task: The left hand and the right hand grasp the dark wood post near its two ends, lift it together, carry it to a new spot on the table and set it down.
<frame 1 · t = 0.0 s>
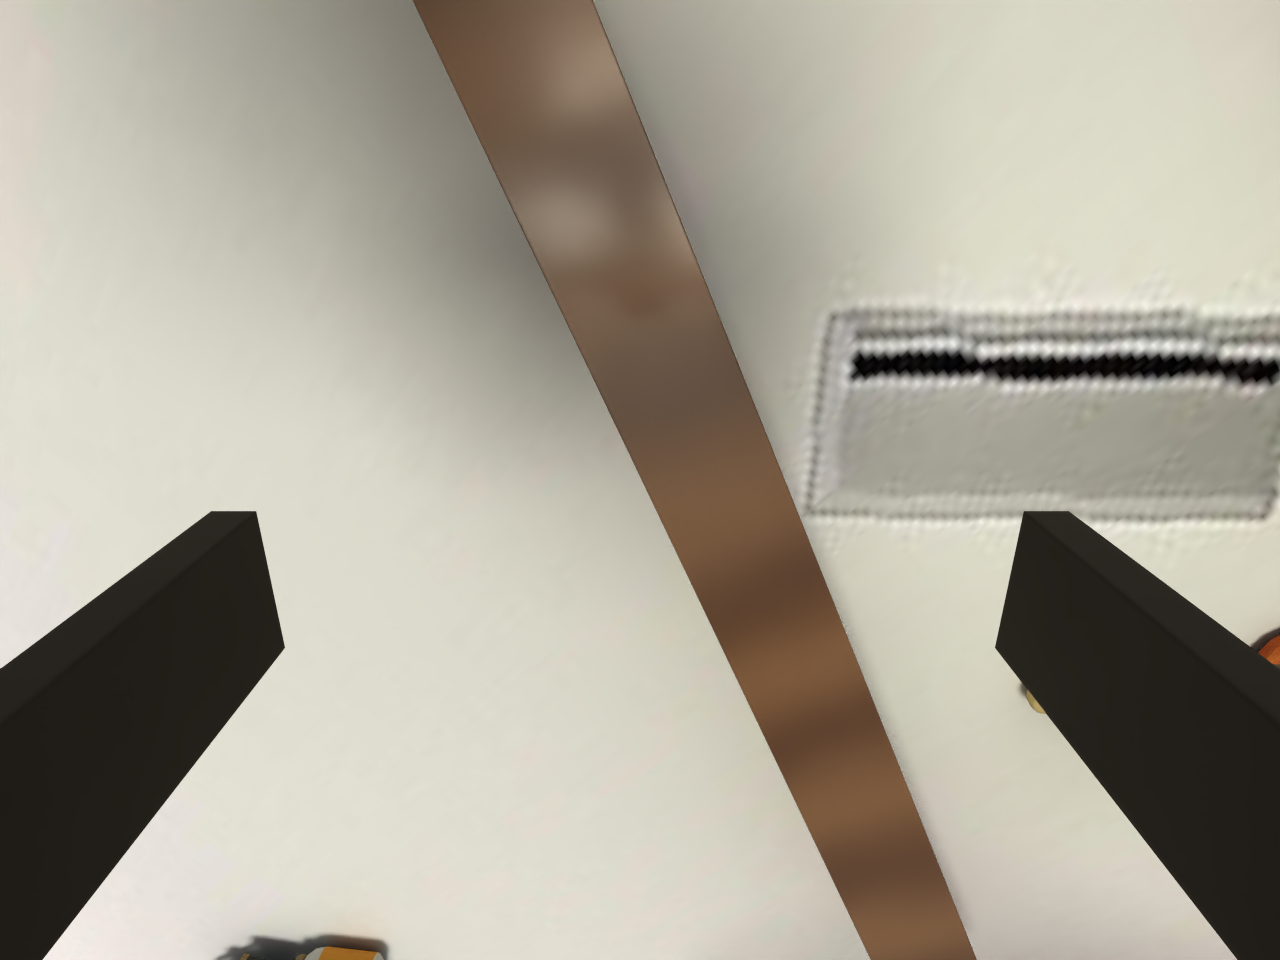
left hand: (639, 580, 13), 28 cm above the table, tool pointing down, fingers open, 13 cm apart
post: (739, 518, 43), on the table
toy gun: (1181, 663, 47), on the table
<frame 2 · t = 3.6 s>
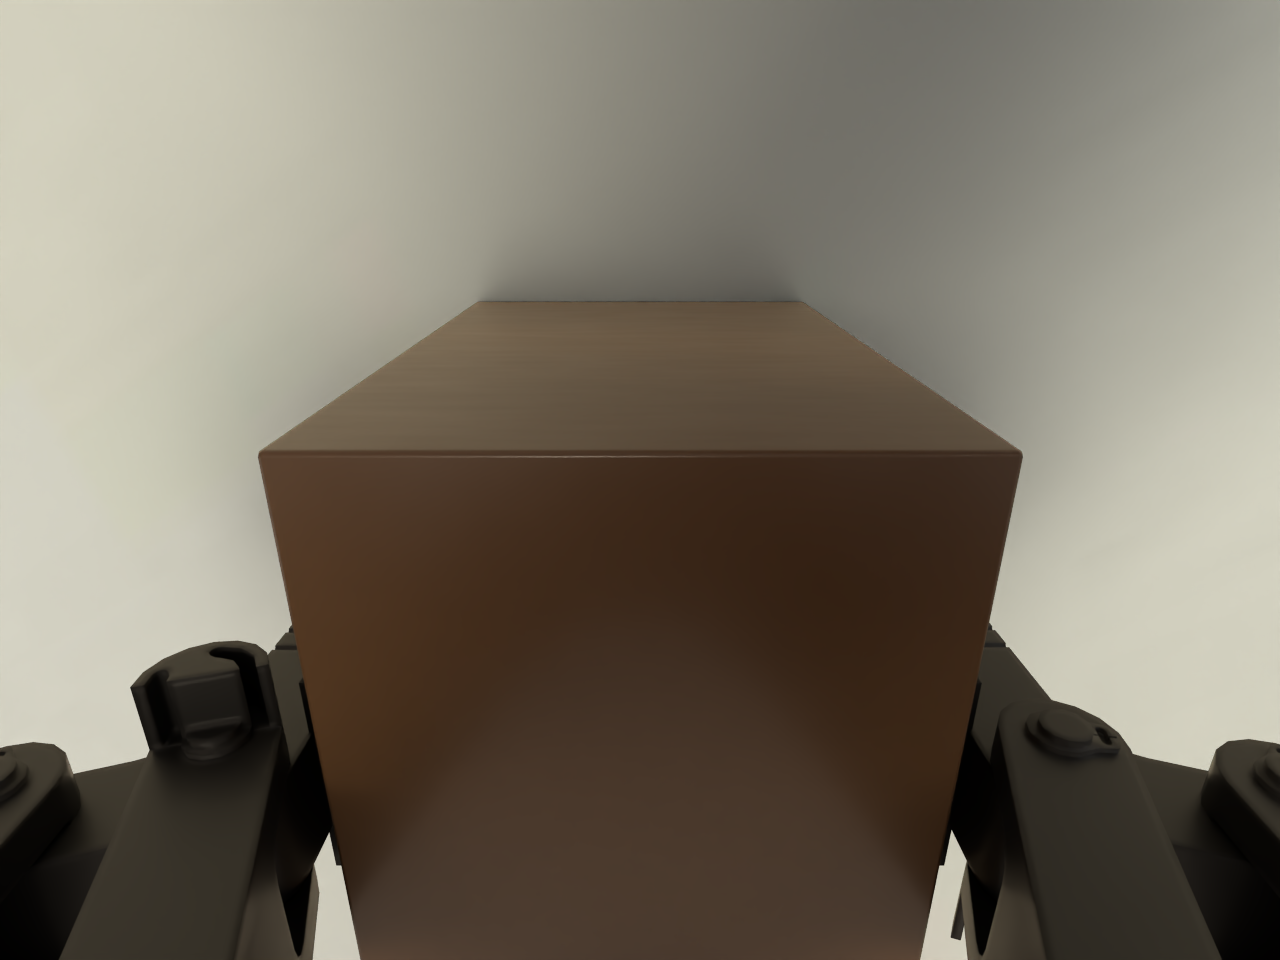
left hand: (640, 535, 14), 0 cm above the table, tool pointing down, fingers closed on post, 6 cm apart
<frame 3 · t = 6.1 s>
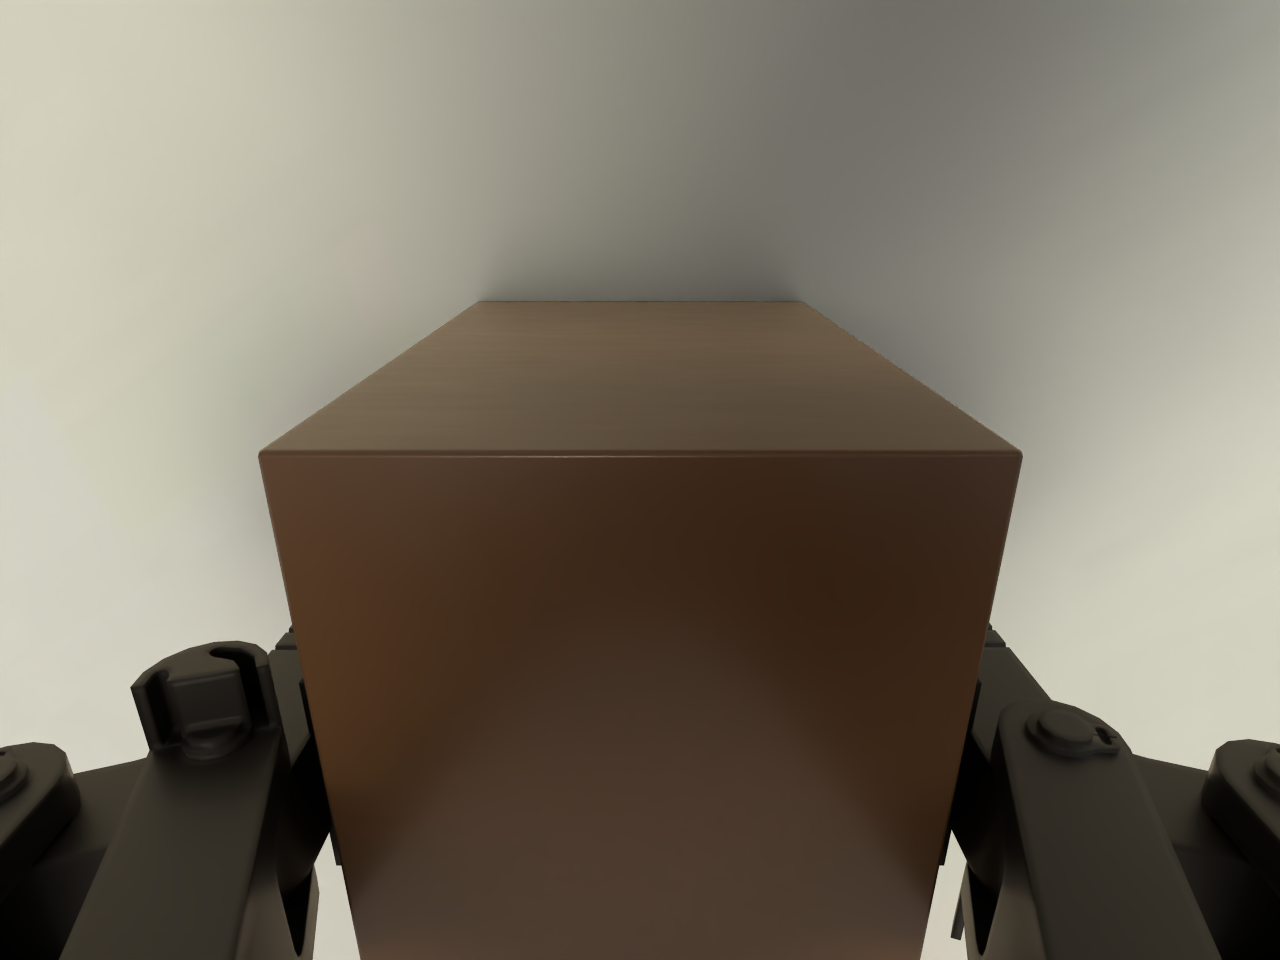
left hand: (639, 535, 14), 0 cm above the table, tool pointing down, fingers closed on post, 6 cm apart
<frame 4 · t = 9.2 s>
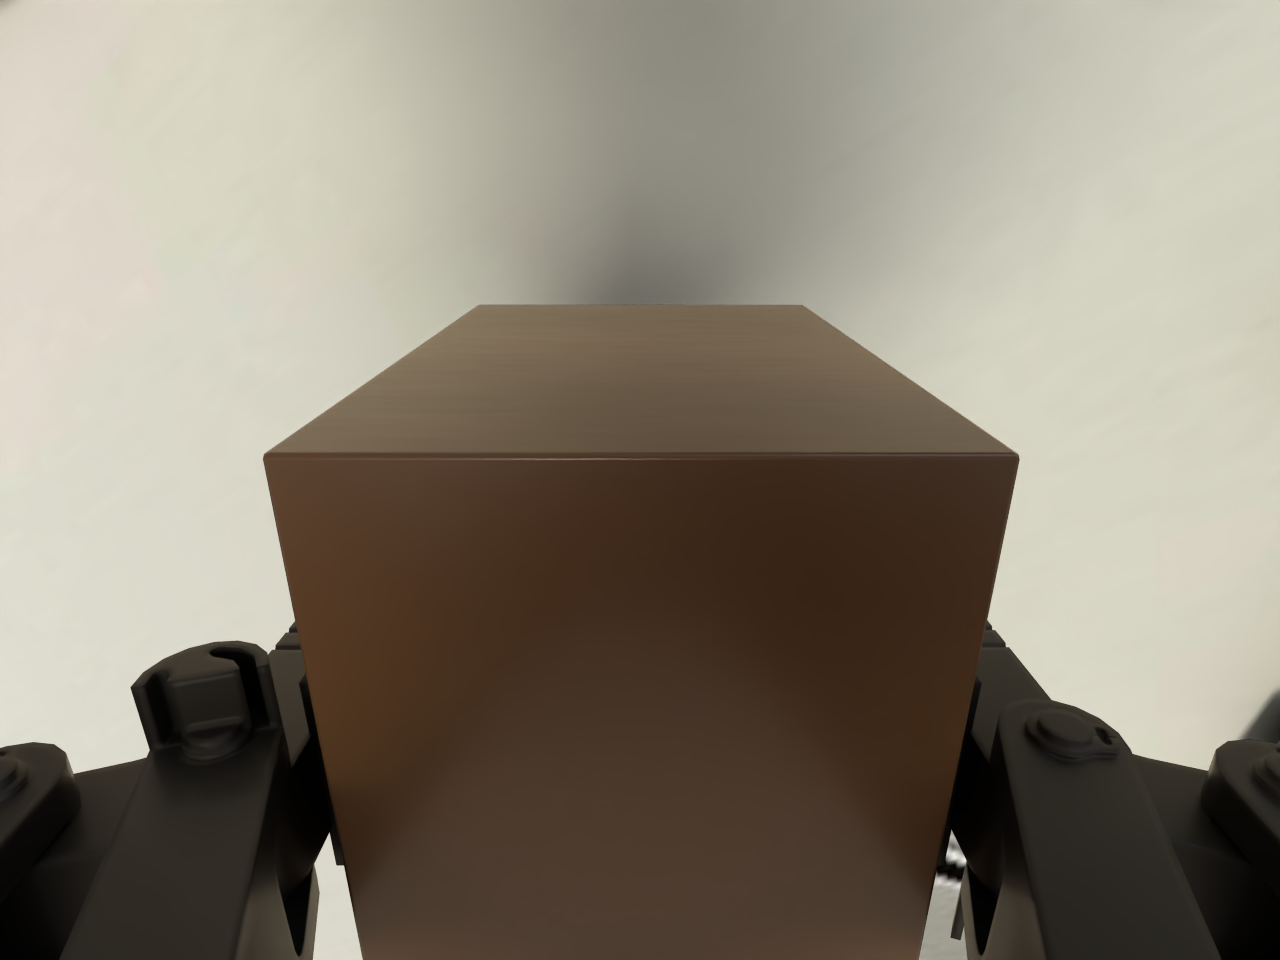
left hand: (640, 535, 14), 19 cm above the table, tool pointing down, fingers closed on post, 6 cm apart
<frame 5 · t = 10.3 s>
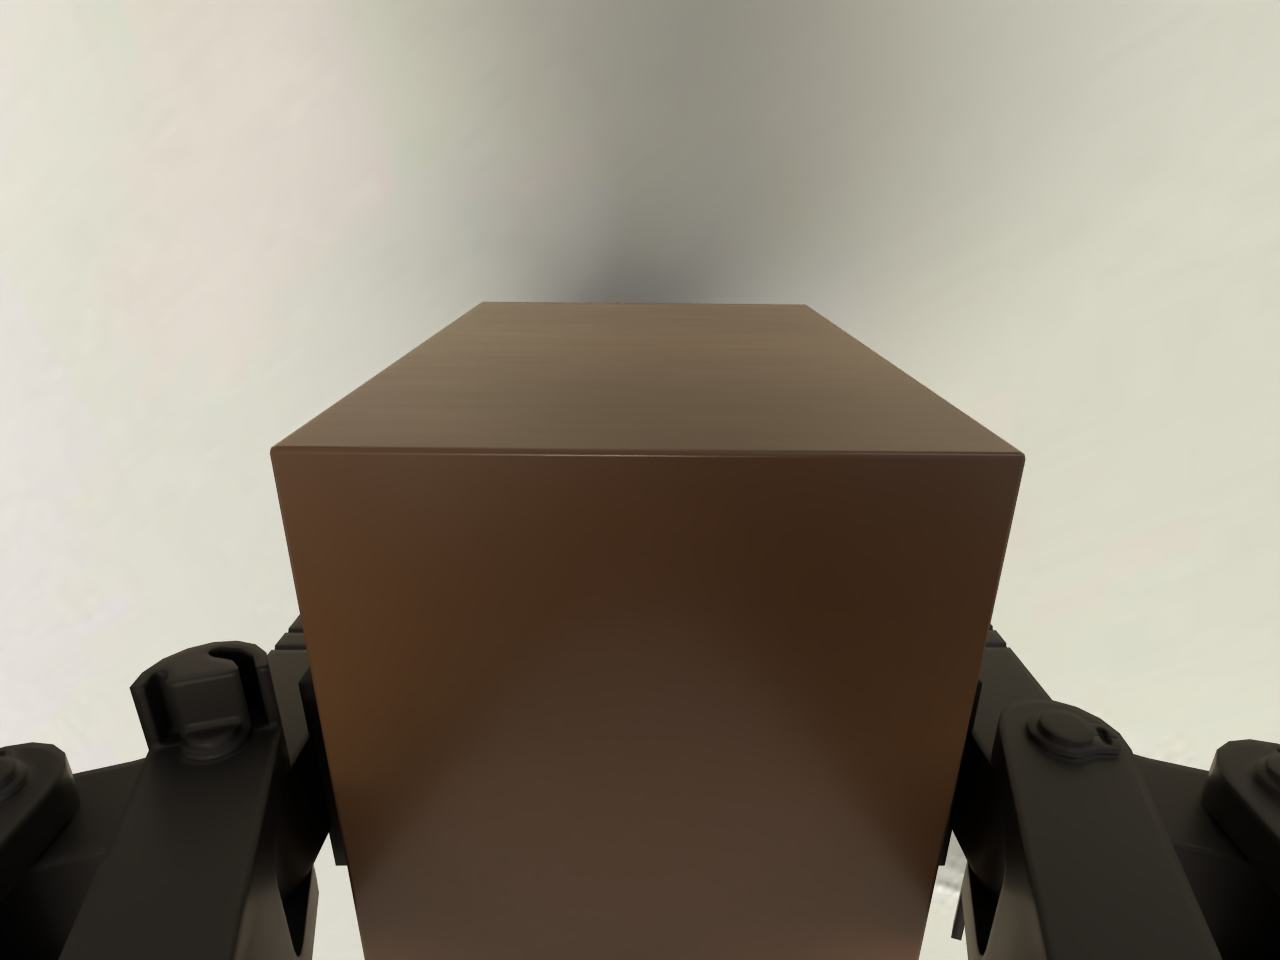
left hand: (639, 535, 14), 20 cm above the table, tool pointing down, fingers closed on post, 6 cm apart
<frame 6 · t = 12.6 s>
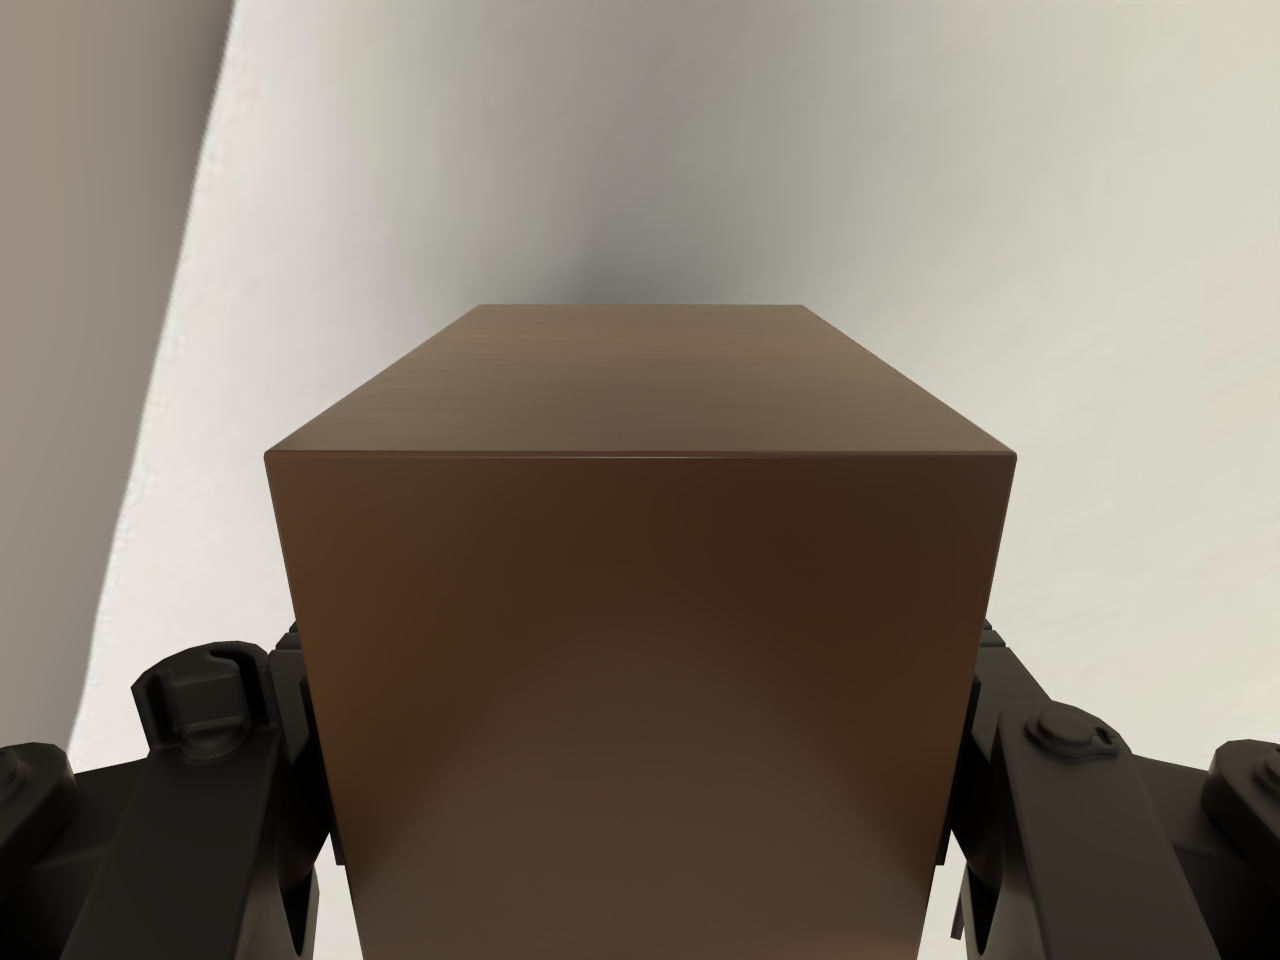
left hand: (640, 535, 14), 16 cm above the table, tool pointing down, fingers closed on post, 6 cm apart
when the left hand's fingers open (2 cm above the table, at t = 14.7 s): post stays where it is, on the table.
when the right hand's fingers open (2 cm above the table, at t = 14.7 s): post stays where it is, on the table.
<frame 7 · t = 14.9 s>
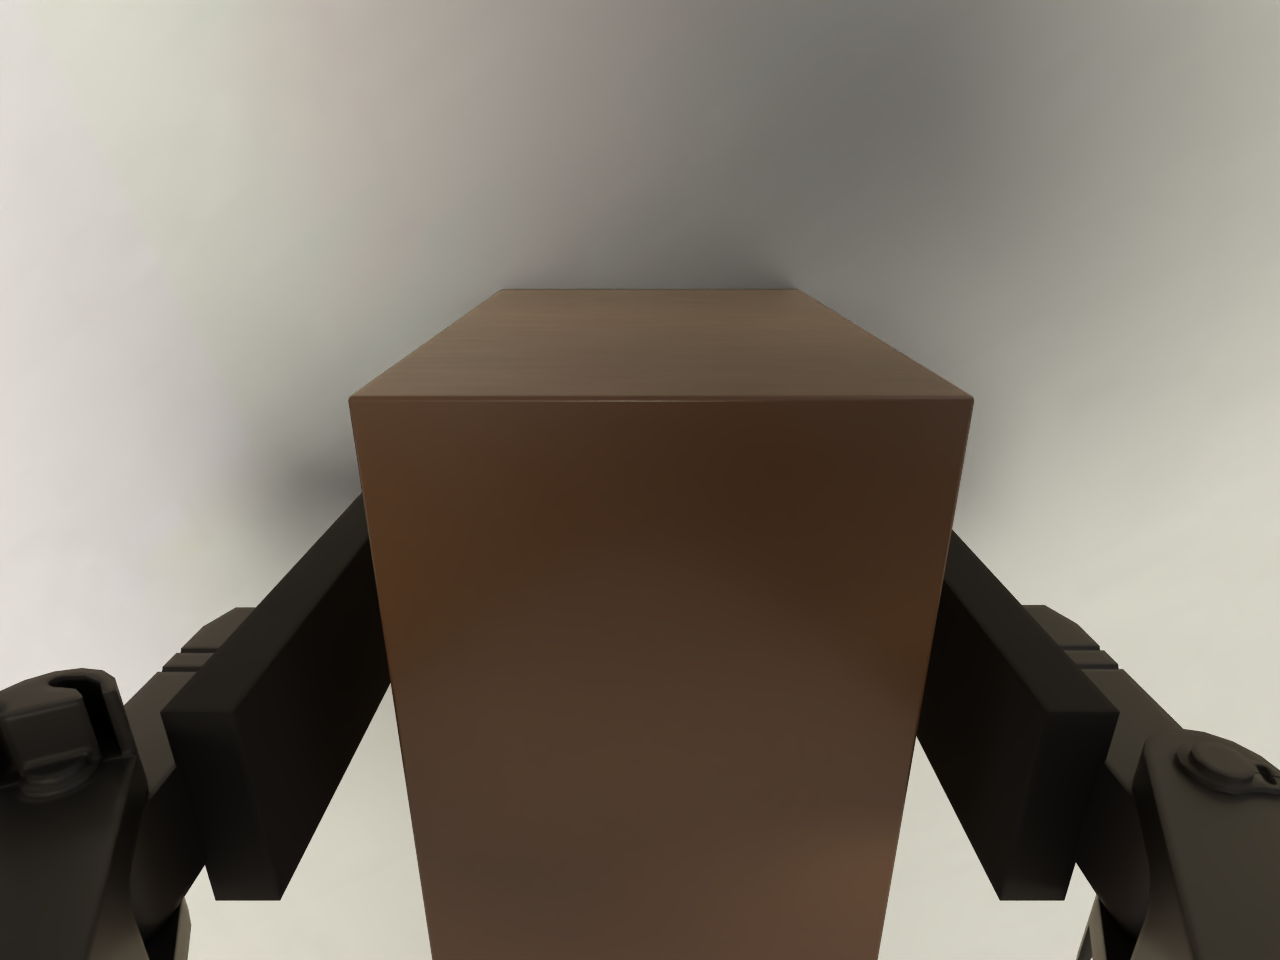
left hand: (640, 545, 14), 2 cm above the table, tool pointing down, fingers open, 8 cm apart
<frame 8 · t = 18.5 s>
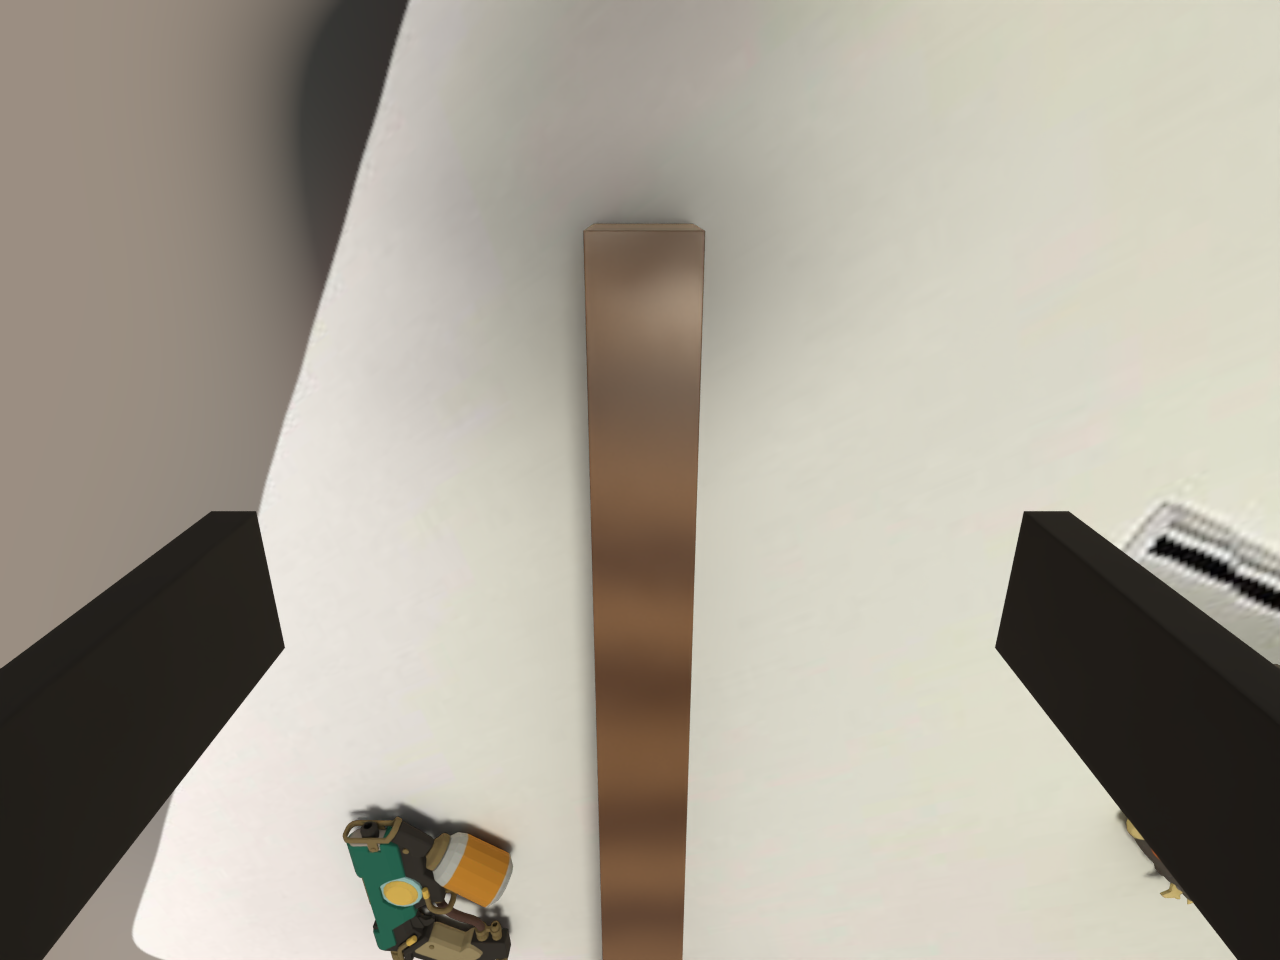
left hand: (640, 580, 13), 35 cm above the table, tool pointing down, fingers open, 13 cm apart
post: (642, 733, 57), on the table
spray gun: (435, 879, 63), on the table
toy gun: (1230, 834, 61), on the table
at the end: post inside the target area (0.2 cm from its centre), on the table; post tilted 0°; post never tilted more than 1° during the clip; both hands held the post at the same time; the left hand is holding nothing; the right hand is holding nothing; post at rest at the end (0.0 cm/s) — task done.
